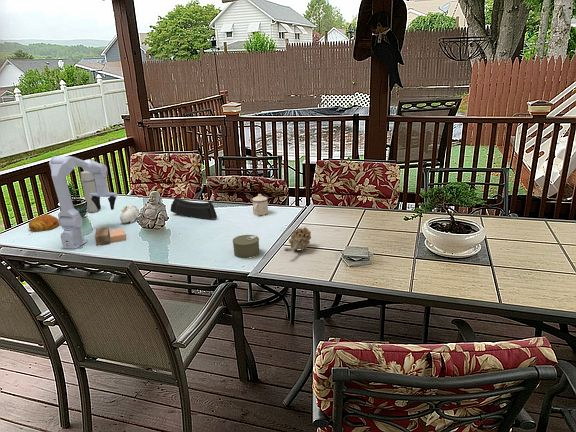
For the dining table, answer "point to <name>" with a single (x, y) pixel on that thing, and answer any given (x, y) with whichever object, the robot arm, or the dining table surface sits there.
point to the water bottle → (89, 190)
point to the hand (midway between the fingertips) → (106, 209)
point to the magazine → (193, 209)
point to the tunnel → (102, 236)
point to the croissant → (43, 223)
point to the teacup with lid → (260, 205)
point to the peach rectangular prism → (117, 235)
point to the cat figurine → (129, 214)
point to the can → (246, 246)
